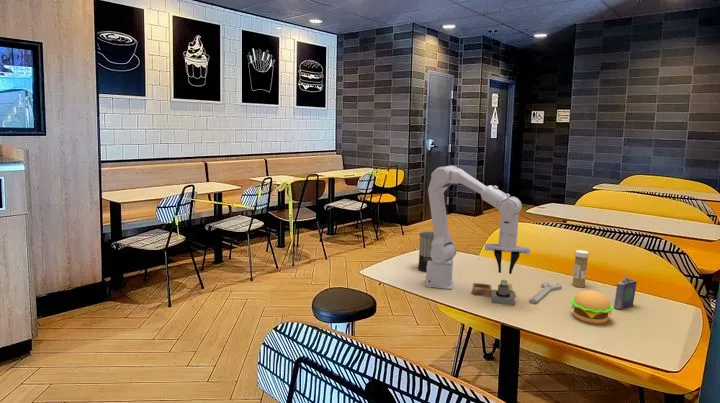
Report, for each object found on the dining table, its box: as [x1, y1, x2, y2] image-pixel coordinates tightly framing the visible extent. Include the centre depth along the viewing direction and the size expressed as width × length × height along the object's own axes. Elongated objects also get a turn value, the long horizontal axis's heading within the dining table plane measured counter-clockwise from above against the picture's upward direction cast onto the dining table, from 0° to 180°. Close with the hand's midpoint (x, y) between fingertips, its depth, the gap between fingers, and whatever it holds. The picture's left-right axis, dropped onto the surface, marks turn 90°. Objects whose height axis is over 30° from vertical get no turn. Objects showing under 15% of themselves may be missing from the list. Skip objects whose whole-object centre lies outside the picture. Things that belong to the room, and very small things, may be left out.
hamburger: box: [570, 289, 614, 324], centre depth 152 cm, size 12×12×9 cm
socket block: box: [490, 289, 517, 306], centre depth 167 cm, size 8×11×2 cm
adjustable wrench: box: [528, 281, 562, 305], centre depth 173 cm, size 25×6×2 cm, turn 137°
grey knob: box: [497, 279, 509, 297], centre depth 165 cm, size 4×4×7 cm
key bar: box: [507, 283, 514, 292], centre depth 172 cm, size 2×7×2 cm, turn 166°
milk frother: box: [417, 231, 434, 273], centre depth 199 cm, size 14×16×15 cm
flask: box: [613, 275, 638, 310], centre depth 162 cm, size 9×3×11 cm, turn 121°
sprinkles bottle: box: [571, 249, 590, 288], centre depth 182 cm, size 5×5×13 cm
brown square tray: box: [472, 282, 492, 297], centre depth 172 cm, size 6×6×2 cm
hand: (504, 272), depth 164 cm, fingers open, 3 cm apart
